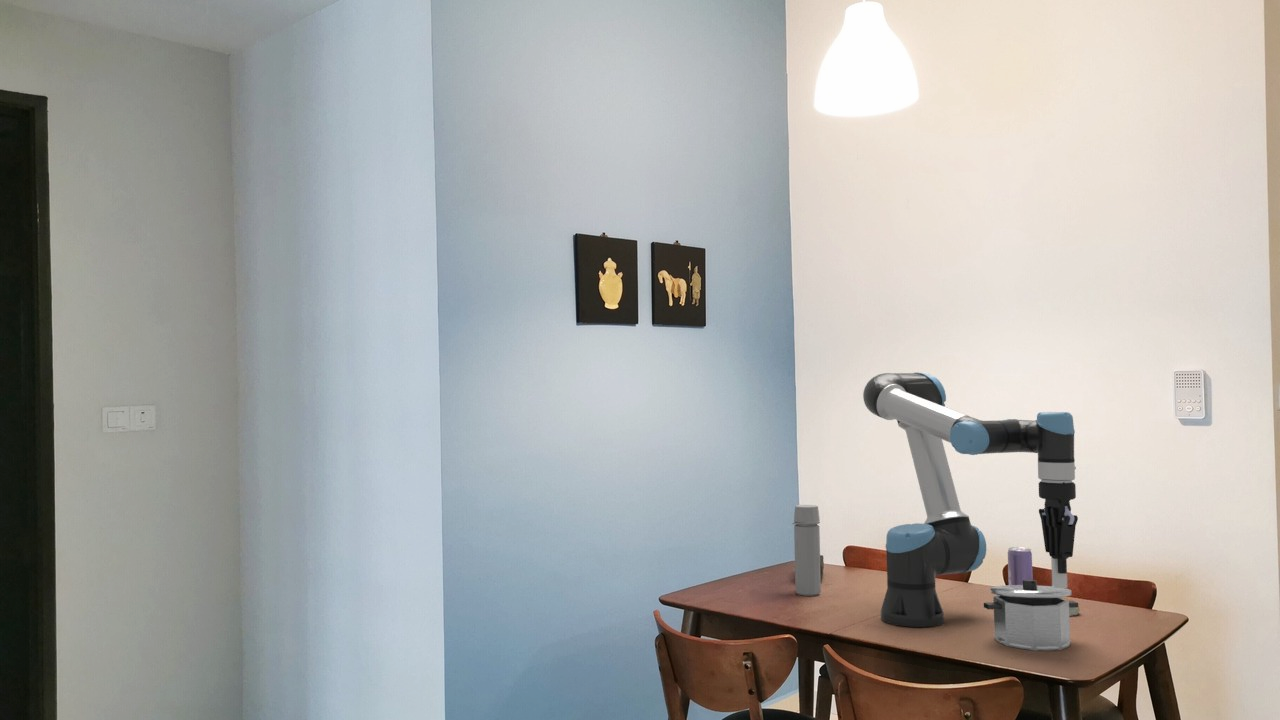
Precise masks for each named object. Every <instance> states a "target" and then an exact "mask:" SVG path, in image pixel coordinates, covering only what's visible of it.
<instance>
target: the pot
mask: <svg viewBox="0 0 1280 720" xmlns="http://www.w3.org/2000/svg"><path fill="white" fill-rule="evenodd" d="M1078 606H1079V602H1077V601H1074V600H1072V601H1068V600H1065V599H1064V597H1058V598H1023V597H1010V596H1002V595H996V594H995V595H993V602H992V601H991V602H983V608H984V609H987V610H993V625H994V626H993V628H994V631H993V632H994V640H996V642H998V643H999V644H1001V645H1003V646H1006V647H1011V648H1015V649H1021V650H1025V651H1026V650H1027V651H1034V652H1035V651H1039V652H1041V651H1042V652H1051V651H1054V652H1055V651H1062V650H1066V649H1068V648H1069V647H1070V645H1071V625H1070V623H1071V621H1070V620H1071V619H1070V616H1069V608H1074V607H1078Z"/></svg>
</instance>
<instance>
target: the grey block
mask: <svg viewBox="0 0 1280 720" xmlns="http://www.w3.org/2000/svg"><path fill="white" fill-rule="evenodd" d="M1063 599H1065V600H1068V601H1073V600H1071V599H1069V598H1067V597H1065V598H1064V597H1063ZM1079 612H1080V607H1079V605H1078V607H1074V608H1069V617H1074V616H1073V615H1076V616H1077V615H1078V614H1079Z"/></svg>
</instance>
